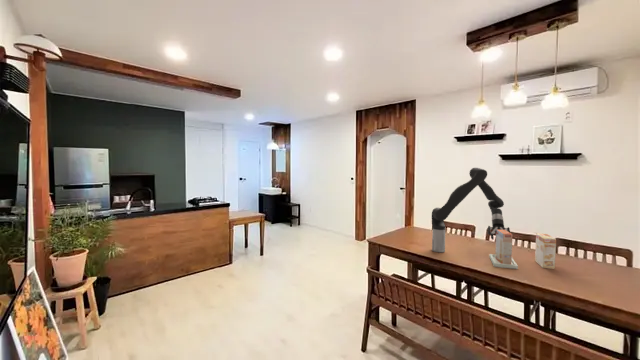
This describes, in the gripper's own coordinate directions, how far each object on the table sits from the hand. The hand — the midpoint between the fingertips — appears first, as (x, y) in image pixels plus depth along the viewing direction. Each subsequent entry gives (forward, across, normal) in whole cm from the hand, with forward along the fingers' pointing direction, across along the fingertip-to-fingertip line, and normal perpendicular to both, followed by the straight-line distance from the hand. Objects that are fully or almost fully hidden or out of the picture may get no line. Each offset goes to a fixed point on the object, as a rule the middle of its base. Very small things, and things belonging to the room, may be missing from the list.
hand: (499, 239), depth 217 cm
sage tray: (+20, 0, -2) cm, 20 cm away
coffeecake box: (+15, +25, +2) cm, 30 cm away
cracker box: (+19, 0, -2) cm, 19 cm away
